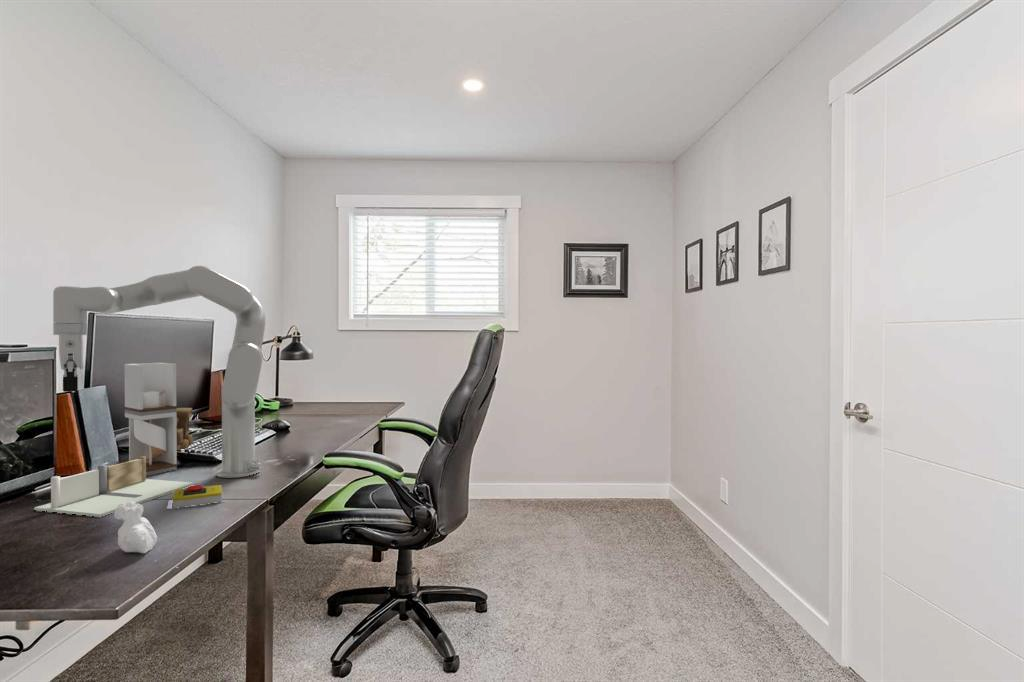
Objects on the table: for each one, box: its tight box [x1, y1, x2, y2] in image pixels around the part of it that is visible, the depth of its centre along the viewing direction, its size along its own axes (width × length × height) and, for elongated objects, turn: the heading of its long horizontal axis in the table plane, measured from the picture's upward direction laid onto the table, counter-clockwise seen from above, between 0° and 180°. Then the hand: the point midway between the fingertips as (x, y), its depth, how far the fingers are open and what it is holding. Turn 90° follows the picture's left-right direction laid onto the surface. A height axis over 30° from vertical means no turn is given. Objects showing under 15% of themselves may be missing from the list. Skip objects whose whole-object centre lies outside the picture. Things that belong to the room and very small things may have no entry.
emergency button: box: [172, 484, 223, 509], centre depth 148 cm, size 9×4×15 cm
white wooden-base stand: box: [124, 362, 178, 476], centre depth 180 cm, size 11×11×35 cm
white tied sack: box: [113, 501, 158, 554], centre depth 115 cm, size 12×8×11 cm
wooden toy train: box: [176, 407, 194, 450], centre depth 201 cm, size 20×11×17 cm, turn 23°
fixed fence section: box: [50, 464, 108, 508], centre depth 146 cm, size 14×2×8 cm, turn 167°
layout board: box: [33, 478, 195, 518], centre depth 151 cm, size 21×29×1 cm
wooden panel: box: [107, 456, 147, 491], centre depth 159 cm, size 12×2×7 cm, turn 167°
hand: (70, 389), depth 157 cm, fingers open, 9 cm apart
